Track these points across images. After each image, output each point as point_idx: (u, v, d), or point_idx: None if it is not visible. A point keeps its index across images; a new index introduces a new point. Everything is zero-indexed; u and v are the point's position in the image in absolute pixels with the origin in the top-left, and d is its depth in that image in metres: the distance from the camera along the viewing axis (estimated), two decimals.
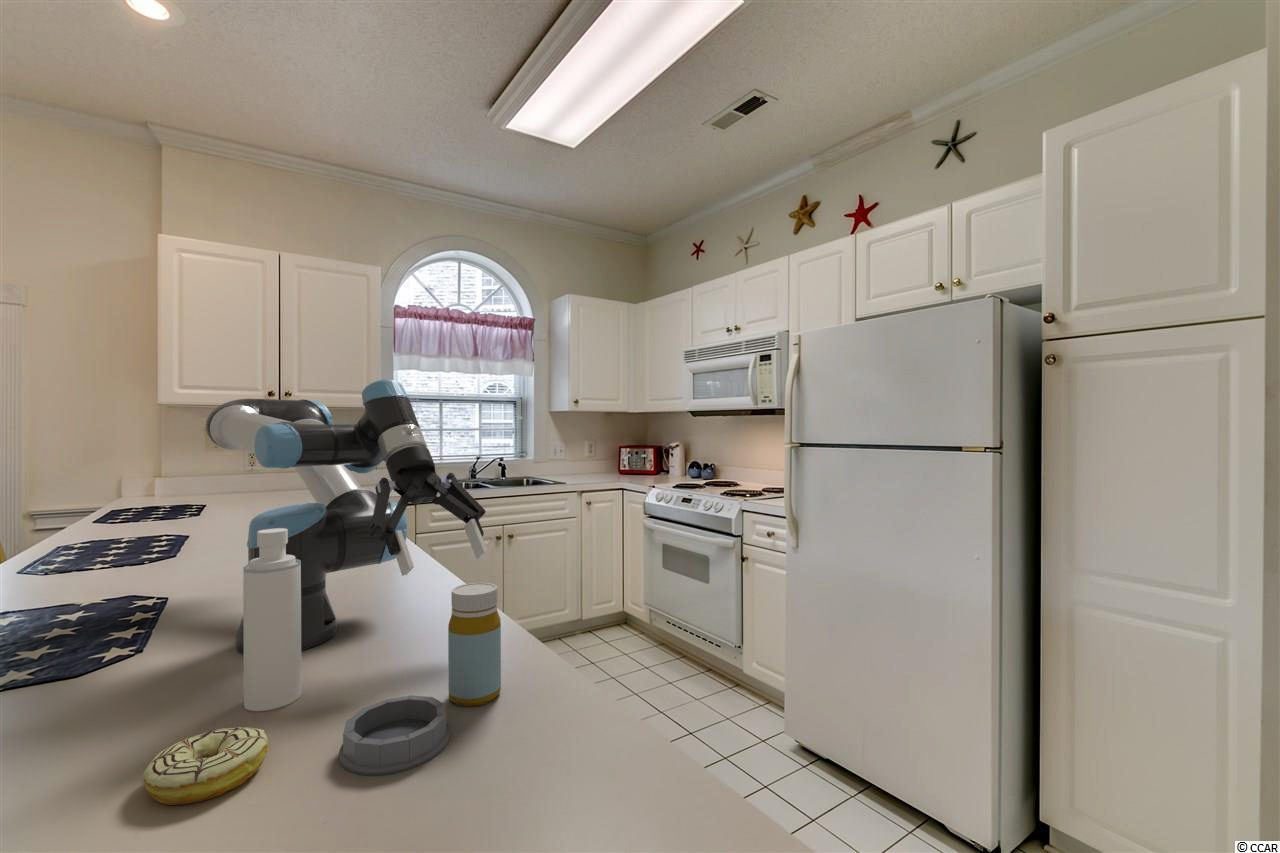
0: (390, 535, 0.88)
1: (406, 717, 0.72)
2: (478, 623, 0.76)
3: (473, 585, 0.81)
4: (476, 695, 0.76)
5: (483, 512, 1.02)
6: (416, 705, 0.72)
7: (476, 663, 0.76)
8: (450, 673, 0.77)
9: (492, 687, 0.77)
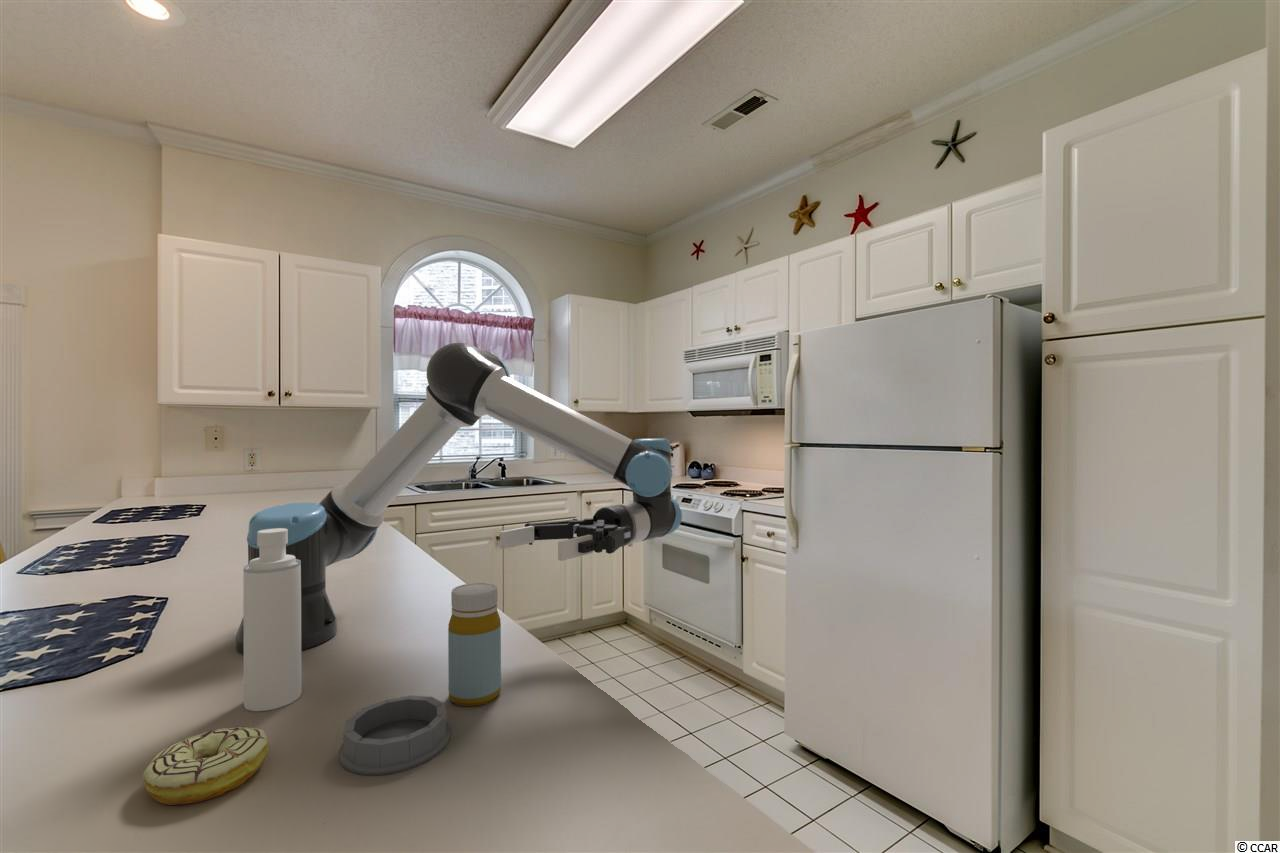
0: (595, 549, 0.86)
1: (406, 717, 0.72)
2: (478, 623, 0.76)
3: (473, 585, 0.81)
4: (476, 695, 0.76)
5: None
6: (416, 705, 0.72)
7: (476, 663, 0.76)
8: (450, 673, 0.77)
9: (492, 687, 0.77)
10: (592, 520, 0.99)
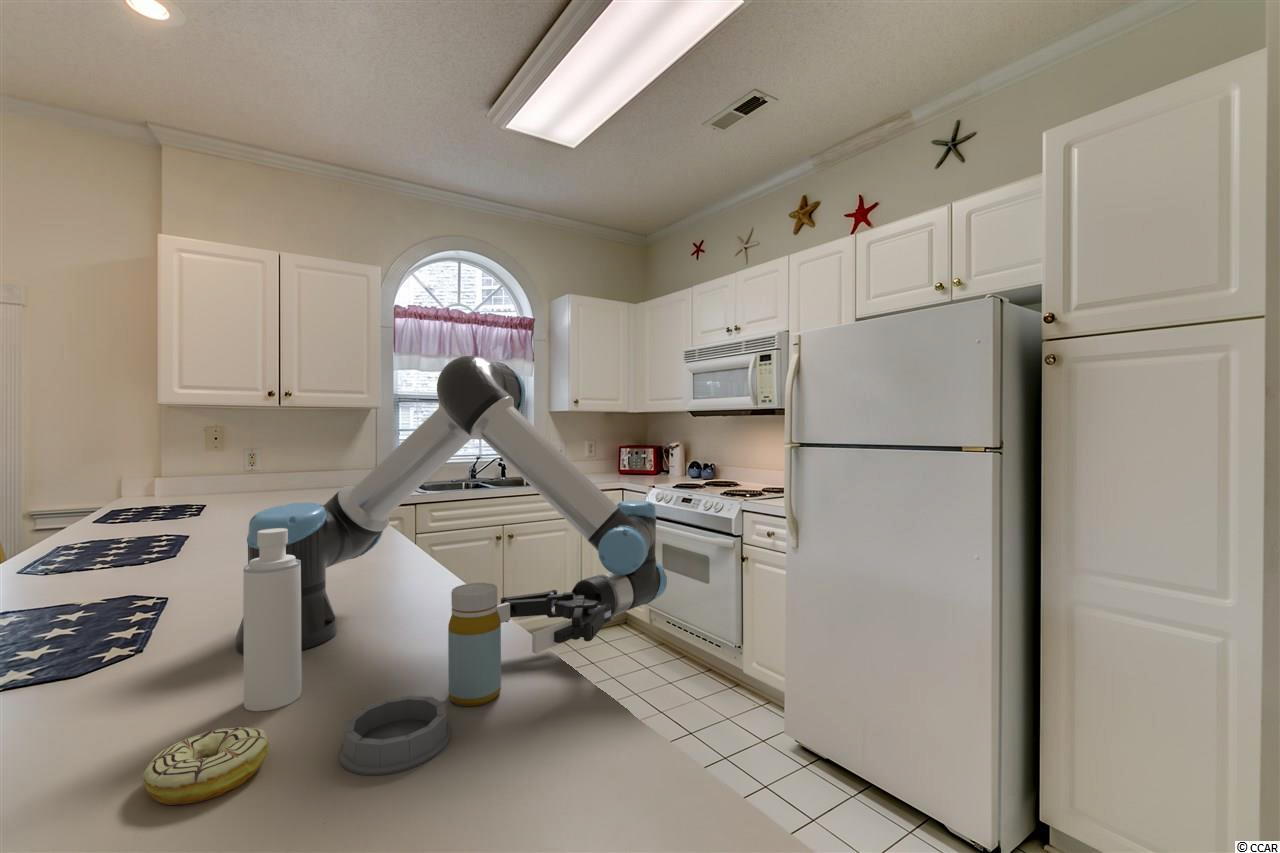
0: None
1: (406, 717, 0.72)
2: (478, 623, 0.76)
3: (473, 585, 0.81)
4: (476, 695, 0.76)
5: None
6: (416, 705, 0.72)
7: (476, 663, 0.76)
8: (450, 673, 0.77)
9: (492, 687, 0.77)
10: (572, 595, 0.94)
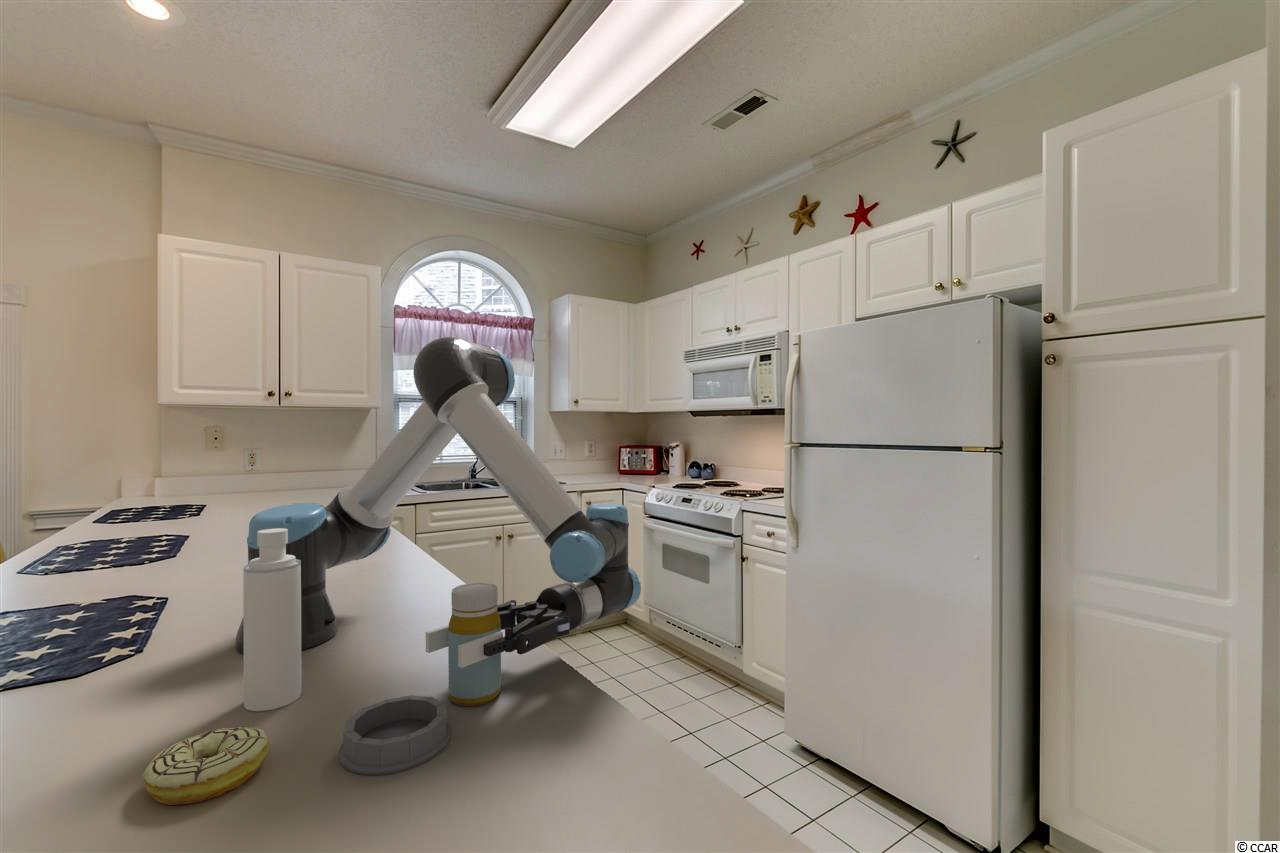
0: None
1: (406, 717, 0.72)
2: (478, 623, 0.76)
3: (473, 585, 0.81)
4: (476, 695, 0.76)
5: None
6: (416, 705, 0.72)
7: (476, 663, 0.76)
8: (450, 673, 0.77)
9: (492, 687, 0.77)
10: (535, 604, 0.89)
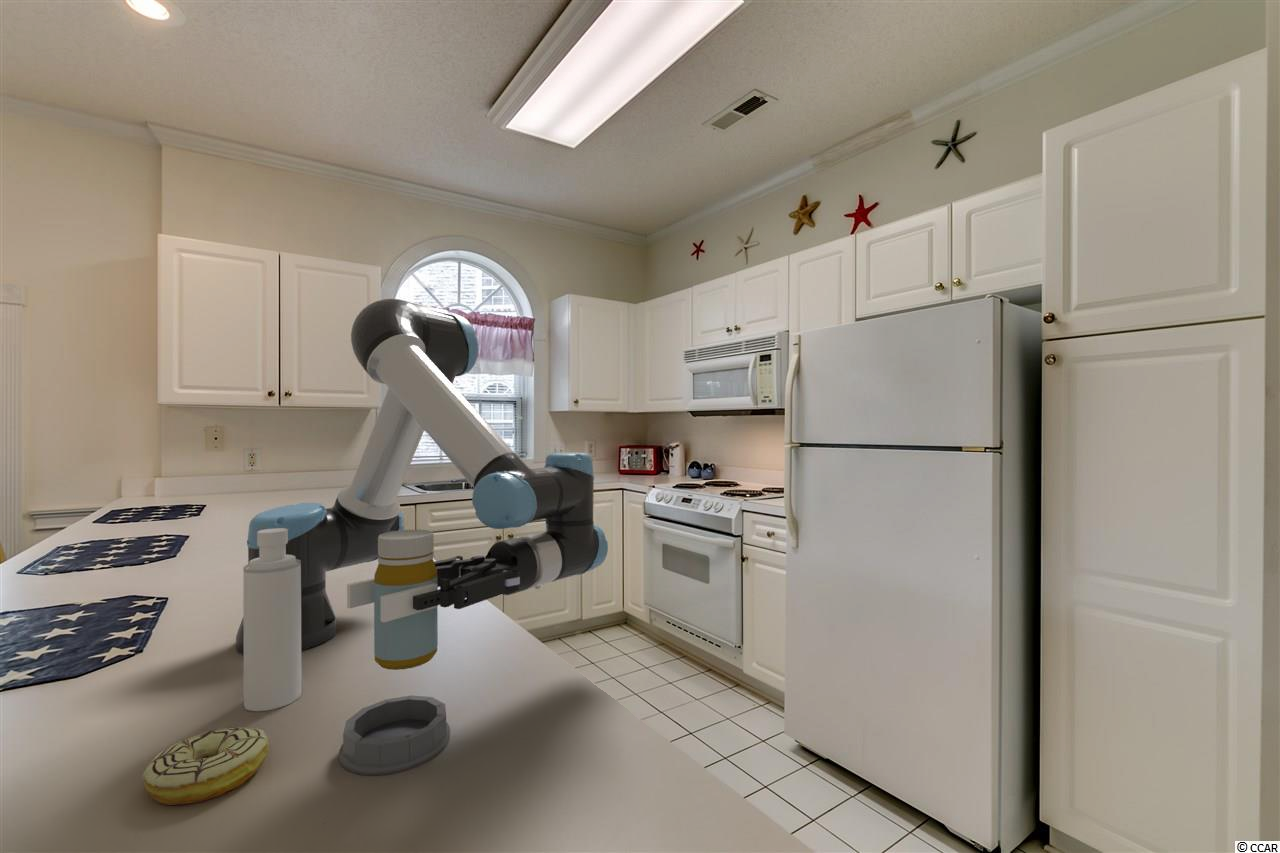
0: None
1: (406, 717, 0.72)
2: (407, 572, 0.65)
3: (406, 532, 0.70)
4: (405, 656, 0.65)
5: None
6: (416, 705, 0.72)
7: (405, 618, 0.65)
8: (375, 631, 0.66)
9: (425, 648, 0.66)
10: (483, 558, 0.78)
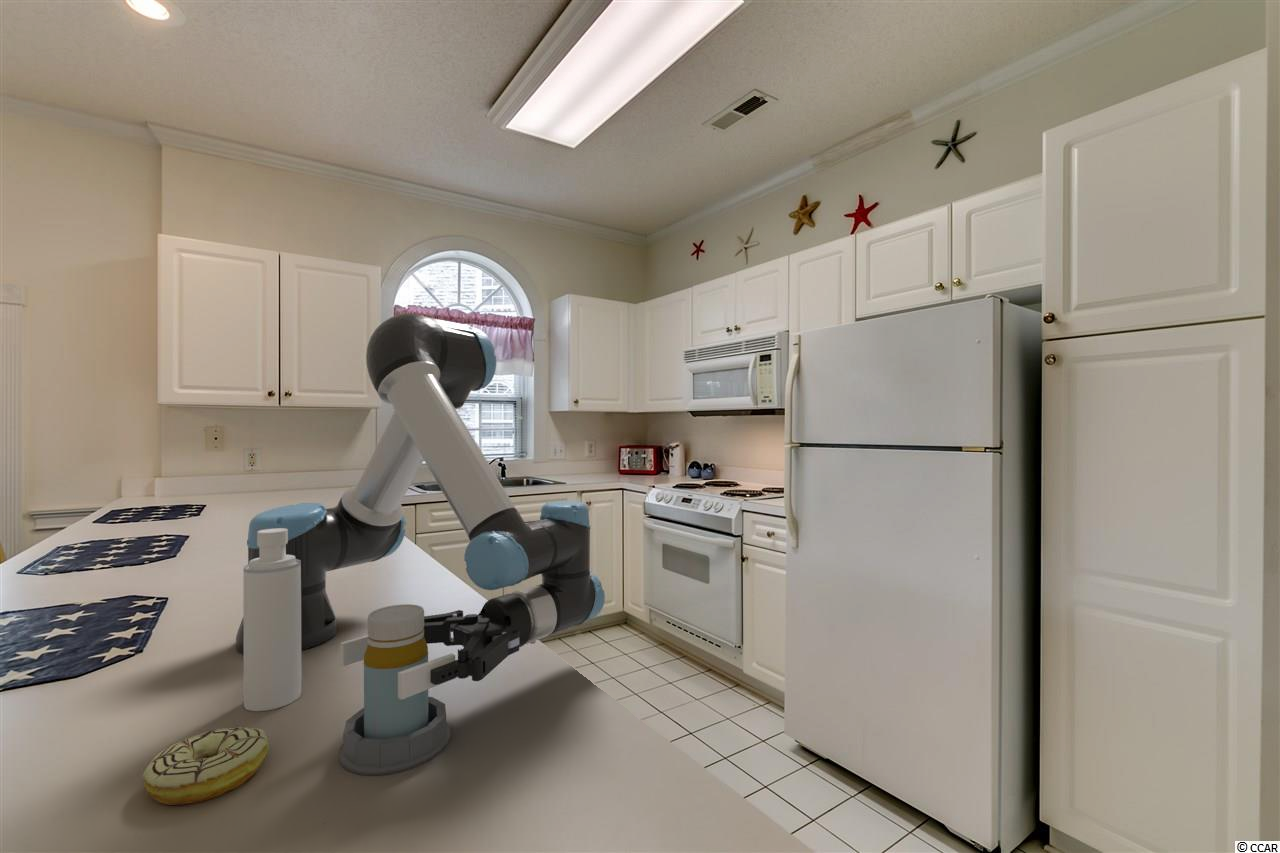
0: None
1: None
2: (397, 654, 0.64)
3: (397, 608, 0.69)
4: None
5: None
6: None
7: (394, 702, 0.64)
8: (365, 713, 0.65)
9: (415, 730, 0.65)
10: (475, 617, 0.77)
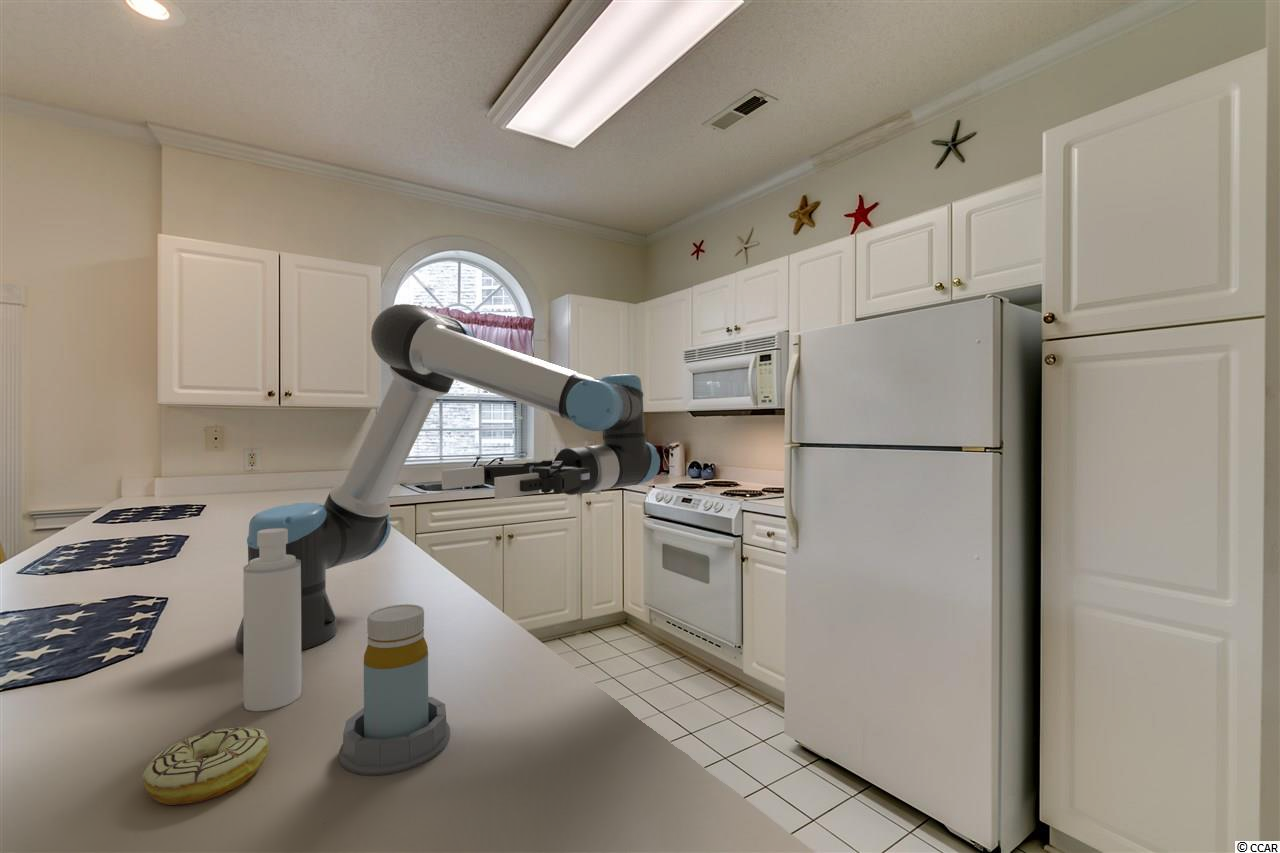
0: None
1: None
2: (396, 654, 0.64)
3: (397, 608, 0.69)
4: None
5: None
6: None
7: (394, 702, 0.64)
8: (365, 713, 0.65)
9: (415, 730, 0.65)
10: (550, 461, 0.88)
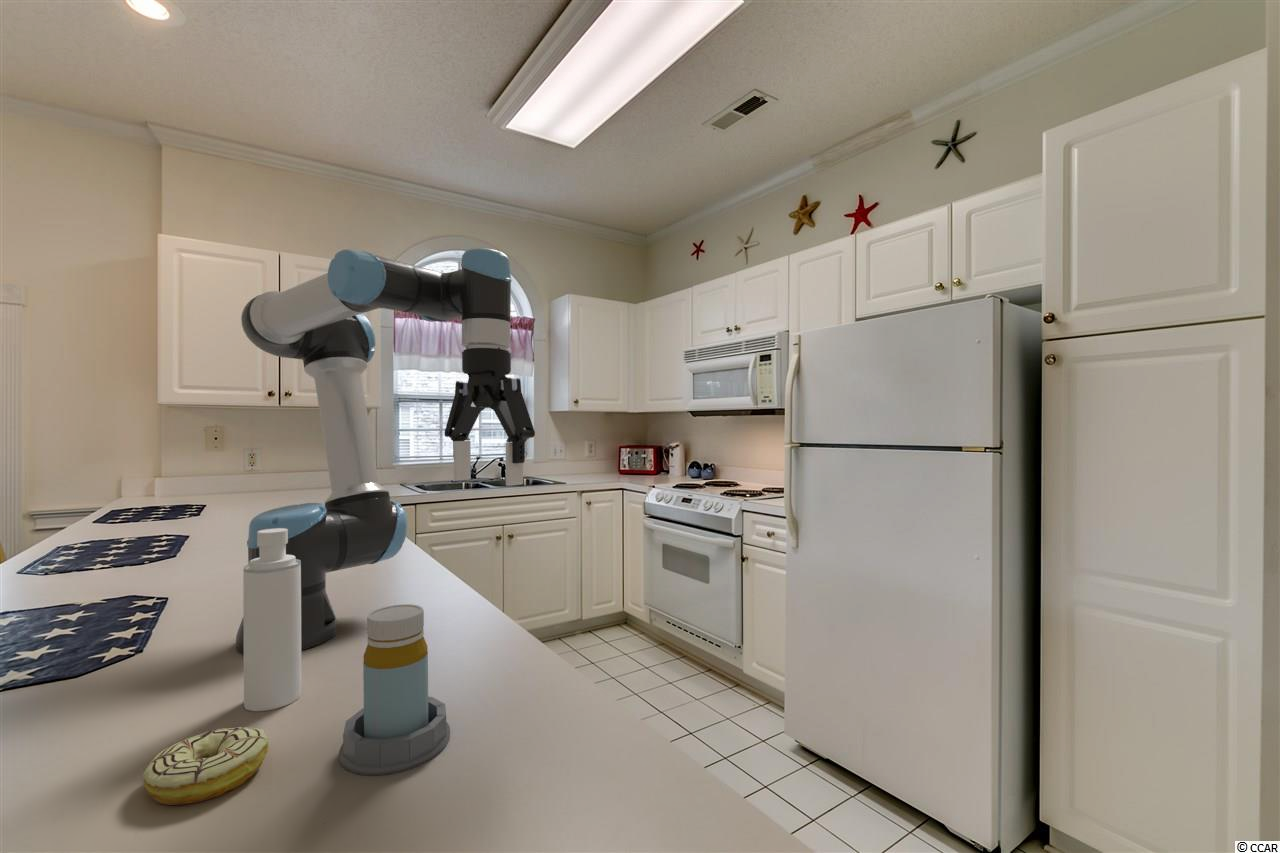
0: None
1: None
2: (396, 654, 0.64)
3: (396, 608, 0.69)
4: None
5: None
6: None
7: (393, 702, 0.64)
8: (364, 713, 0.65)
9: (415, 730, 0.65)
10: (474, 389, 0.89)
